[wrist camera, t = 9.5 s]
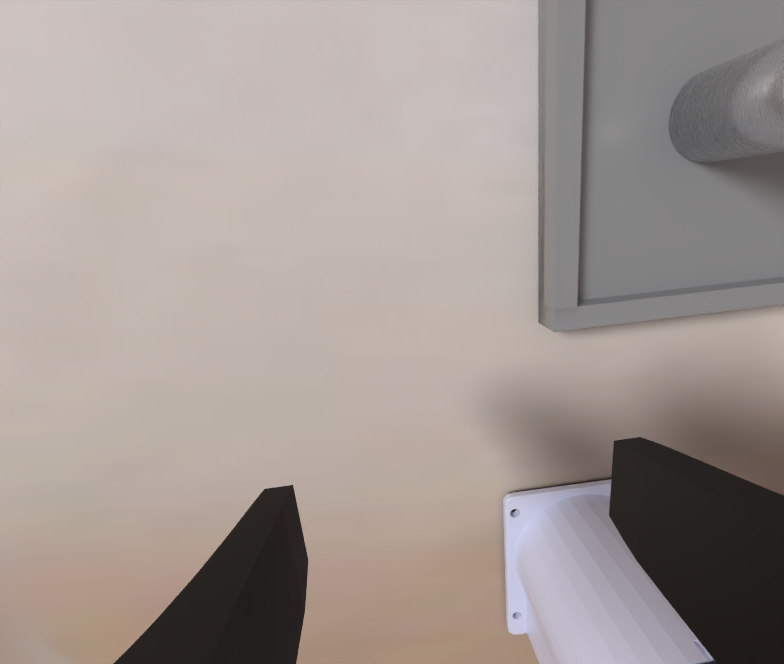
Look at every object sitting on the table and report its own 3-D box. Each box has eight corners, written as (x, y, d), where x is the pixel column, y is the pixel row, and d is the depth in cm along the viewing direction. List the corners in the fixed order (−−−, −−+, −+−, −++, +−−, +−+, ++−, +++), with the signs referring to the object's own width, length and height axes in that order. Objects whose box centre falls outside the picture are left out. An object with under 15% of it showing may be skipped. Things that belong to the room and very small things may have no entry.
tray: (822, 289, 20) (861, 295, 18) (538, 322, 19) (554, 331, 18) (906, -134, 15) (967, -173, 14) (538, -108, 15) (559, -145, 13)
